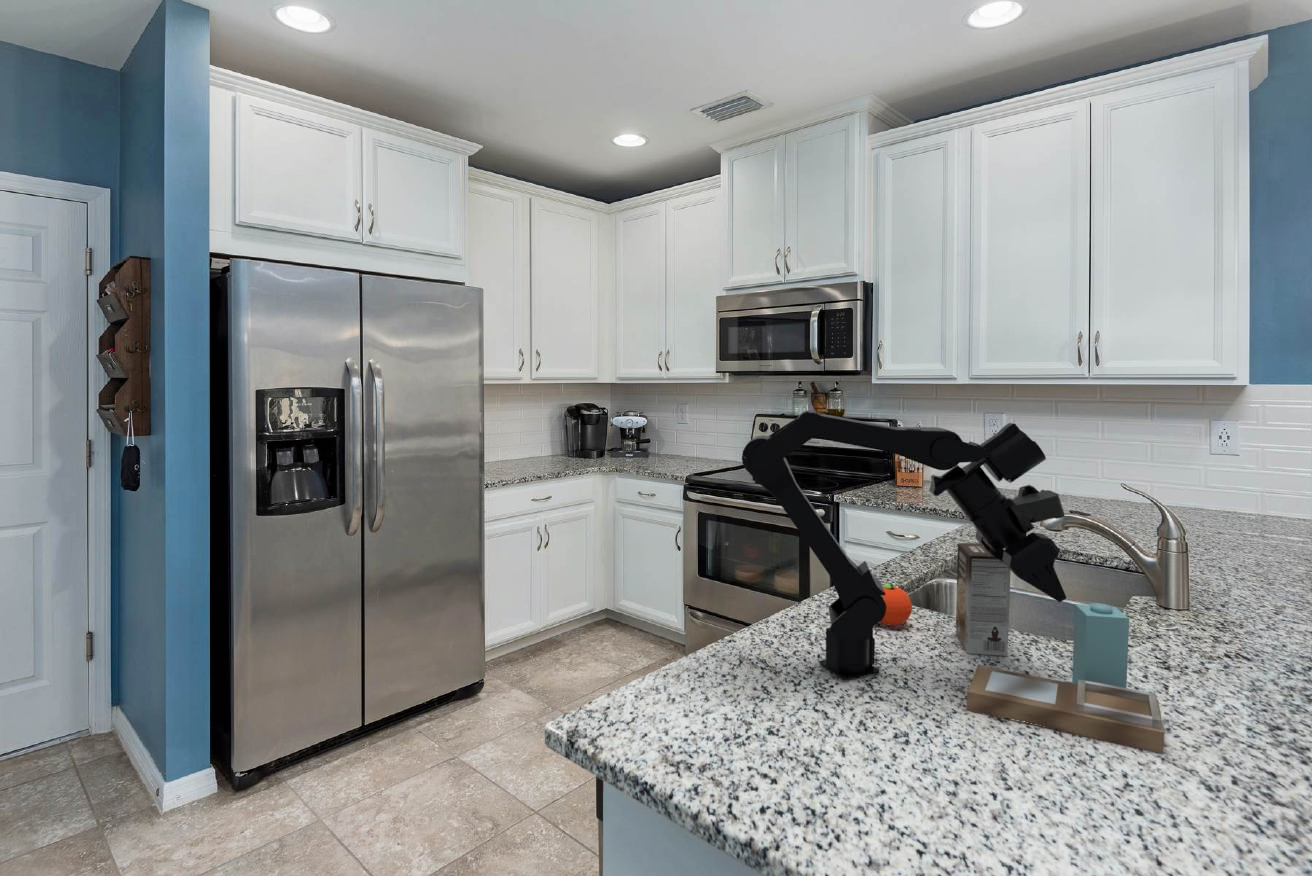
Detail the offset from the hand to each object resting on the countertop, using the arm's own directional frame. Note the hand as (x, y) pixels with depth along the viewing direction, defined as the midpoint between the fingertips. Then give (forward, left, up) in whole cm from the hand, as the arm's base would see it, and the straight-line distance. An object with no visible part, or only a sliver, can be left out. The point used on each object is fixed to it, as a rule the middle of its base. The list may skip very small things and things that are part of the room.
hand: (1050, 590), depth 99 cm
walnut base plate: (-7, -8, -14) cm, 17 cm away
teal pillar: (+4, -5, -14) cm, 15 cm away
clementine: (-4, +29, -14) cm, 32 cm away
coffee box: (+3, +15, -14) cm, 20 cm away
